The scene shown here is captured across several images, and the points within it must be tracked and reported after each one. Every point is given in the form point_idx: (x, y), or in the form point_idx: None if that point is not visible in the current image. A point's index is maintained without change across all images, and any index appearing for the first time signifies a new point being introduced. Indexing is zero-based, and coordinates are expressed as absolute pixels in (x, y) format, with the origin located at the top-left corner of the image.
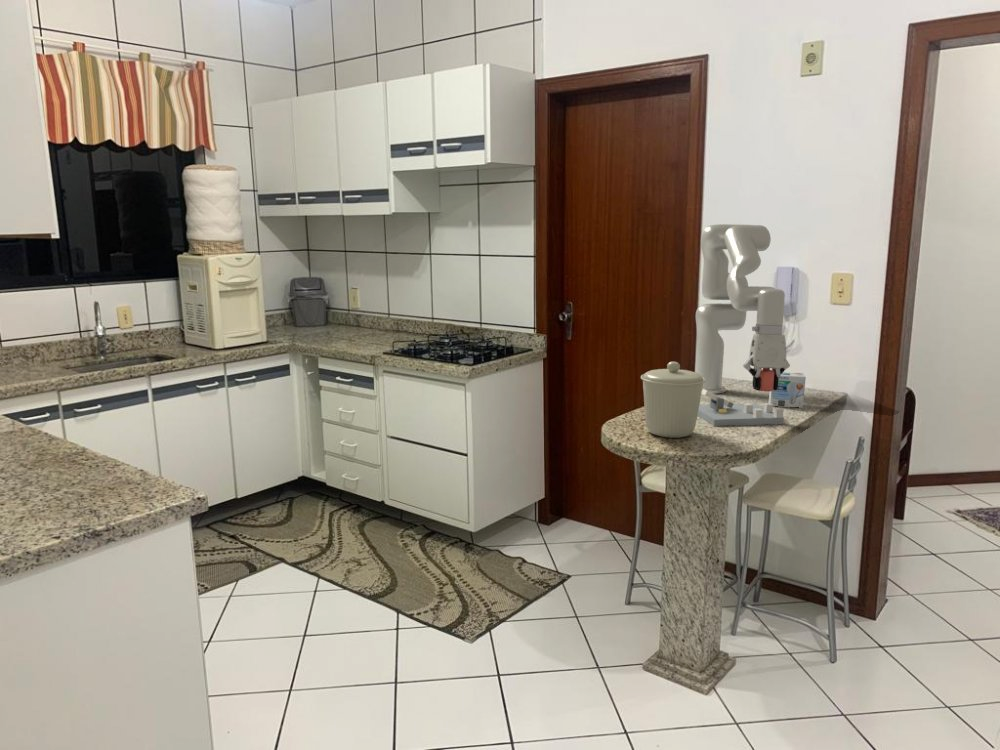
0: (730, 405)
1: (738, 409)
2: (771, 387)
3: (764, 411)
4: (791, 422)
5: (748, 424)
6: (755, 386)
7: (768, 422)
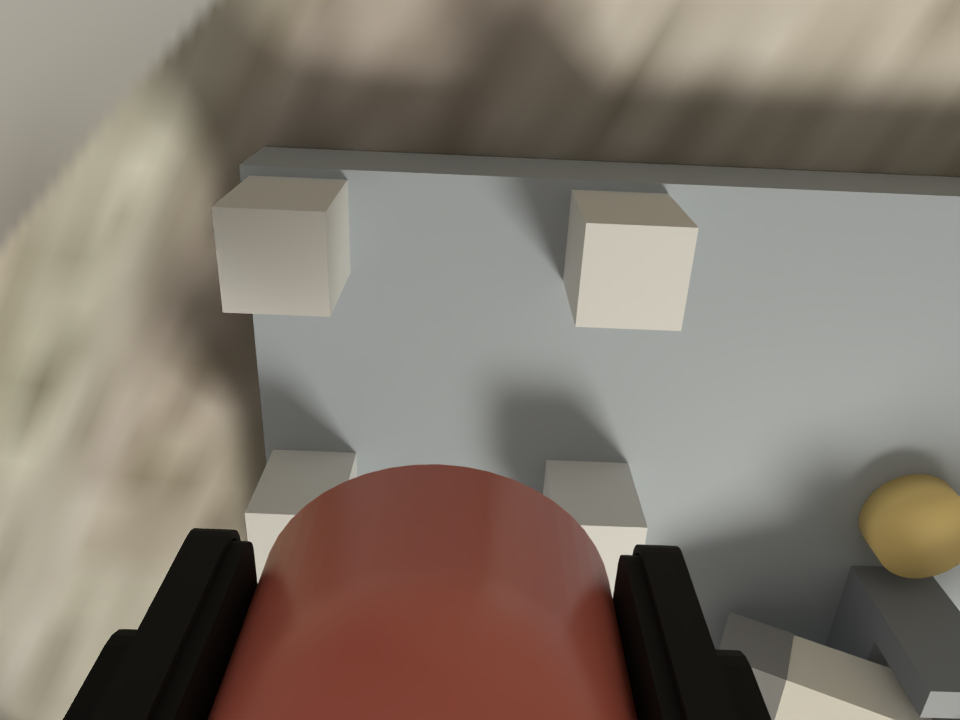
0: (754, 639)
1: None
2: (352, 533)
3: None
4: (118, 212)
5: (755, 168)
6: (722, 653)
7: (473, 162)
